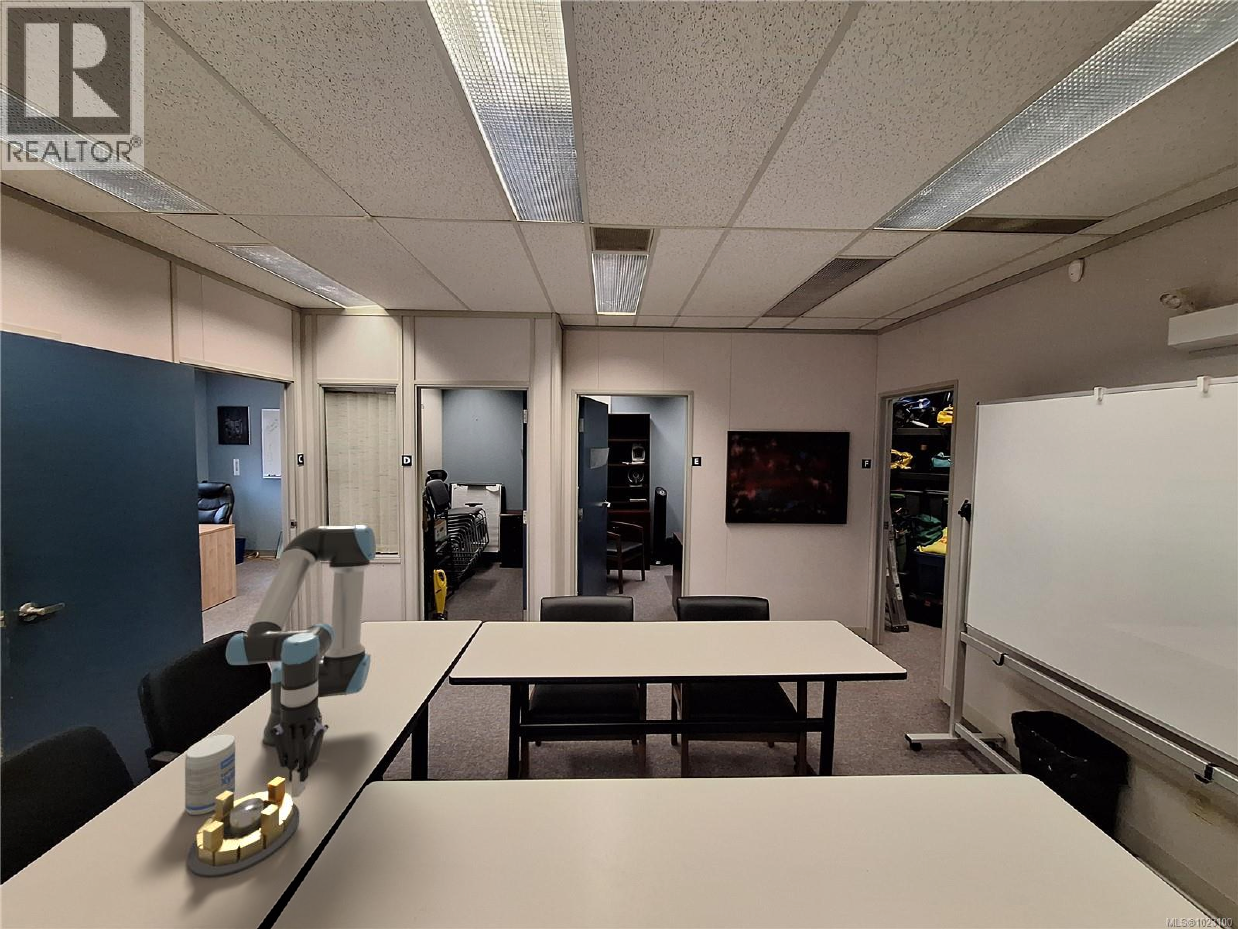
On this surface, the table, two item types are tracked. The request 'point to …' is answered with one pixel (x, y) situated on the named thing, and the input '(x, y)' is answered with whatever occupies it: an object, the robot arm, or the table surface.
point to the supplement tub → (209, 772)
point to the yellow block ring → (272, 827)
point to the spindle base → (243, 863)
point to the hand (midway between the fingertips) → (298, 793)
